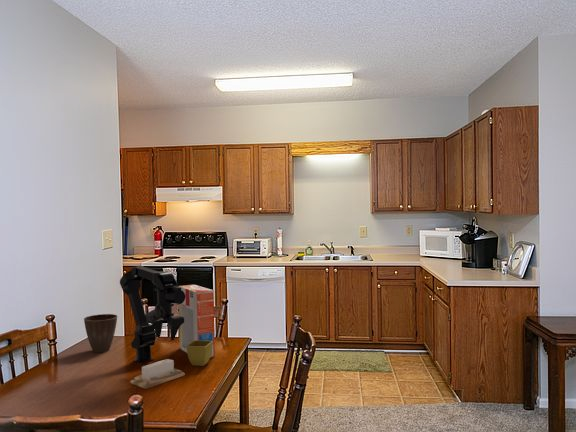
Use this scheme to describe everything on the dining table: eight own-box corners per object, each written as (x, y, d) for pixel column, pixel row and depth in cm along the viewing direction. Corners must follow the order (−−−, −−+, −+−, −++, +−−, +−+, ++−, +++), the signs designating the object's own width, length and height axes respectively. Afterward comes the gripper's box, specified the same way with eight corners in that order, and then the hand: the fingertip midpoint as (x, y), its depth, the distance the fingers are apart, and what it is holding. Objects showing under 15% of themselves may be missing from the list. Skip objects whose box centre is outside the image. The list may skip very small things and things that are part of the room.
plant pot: (106, 344, 236) (105, 312, 236) (124, 348, 227) (123, 315, 227) (78, 351, 224) (77, 318, 224) (96, 356, 215) (95, 322, 215)
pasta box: (214, 356, 212) (213, 290, 211) (198, 360, 207) (196, 292, 207) (195, 345, 231) (194, 284, 231) (179, 348, 226) (178, 286, 226)
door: (141, 379, 180) (141, 366, 180) (167, 371, 189) (167, 358, 189) (148, 382, 178) (147, 368, 178) (173, 373, 187) (173, 360, 187)
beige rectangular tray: (130, 383, 179) (130, 376, 179) (168, 370, 194) (168, 364, 194) (146, 388, 173) (145, 381, 173) (184, 375, 187) (184, 368, 187)
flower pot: (206, 368, 196) (205, 346, 196) (186, 367, 198) (186, 345, 198) (213, 361, 204) (213, 340, 204) (194, 360, 206) (194, 340, 206)
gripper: (135, 302, 197) (135, 339, 197) (162, 307, 186) (163, 346, 186) (157, 298, 206) (157, 334, 206) (184, 302, 194) (185, 340, 195)
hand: (165, 338), depth 198 cm, fingers open, 9 cm apart
